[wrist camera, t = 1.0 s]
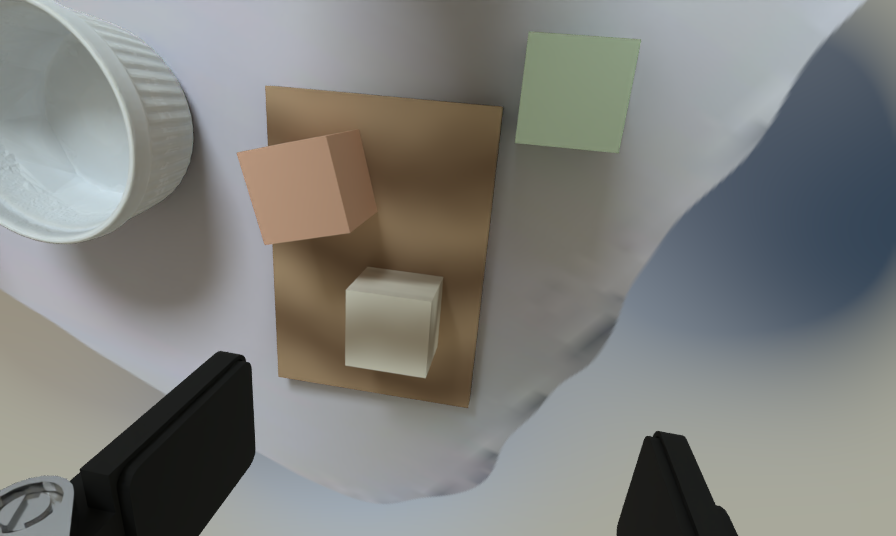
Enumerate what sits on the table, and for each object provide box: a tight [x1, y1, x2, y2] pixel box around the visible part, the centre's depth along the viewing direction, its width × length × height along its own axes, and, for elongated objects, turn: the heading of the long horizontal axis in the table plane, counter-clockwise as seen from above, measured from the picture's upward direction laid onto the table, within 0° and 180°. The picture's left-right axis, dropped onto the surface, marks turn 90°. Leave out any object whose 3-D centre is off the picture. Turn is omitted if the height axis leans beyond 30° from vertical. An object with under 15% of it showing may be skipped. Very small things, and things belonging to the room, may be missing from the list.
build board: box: [265, 86, 503, 408], centre depth 30 cm, size 20×14×5 cm
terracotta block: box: [237, 129, 378, 245], centre depth 28 cm, size 5×5×5 cm
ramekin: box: [0, 0, 193, 244], centre depth 29 cm, size 13×13×7 cm
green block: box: [515, 32, 641, 153], centre depth 25 cm, size 5×5×5 cm
